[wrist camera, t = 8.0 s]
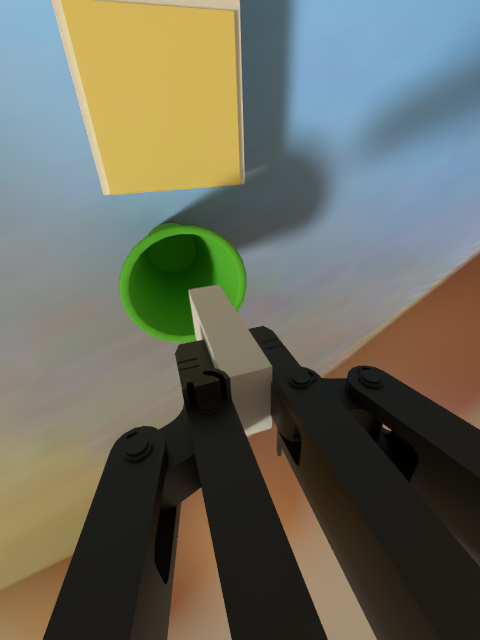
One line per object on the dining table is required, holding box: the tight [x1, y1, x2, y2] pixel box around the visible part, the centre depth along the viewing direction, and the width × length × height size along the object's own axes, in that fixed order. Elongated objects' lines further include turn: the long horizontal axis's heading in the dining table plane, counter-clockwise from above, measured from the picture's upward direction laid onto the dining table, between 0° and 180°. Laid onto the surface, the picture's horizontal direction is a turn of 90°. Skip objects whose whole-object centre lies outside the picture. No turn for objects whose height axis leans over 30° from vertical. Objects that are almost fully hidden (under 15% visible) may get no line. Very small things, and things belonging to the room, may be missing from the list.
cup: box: [120, 223, 246, 343], centre depth 25 cm, size 9×9×11 cm
